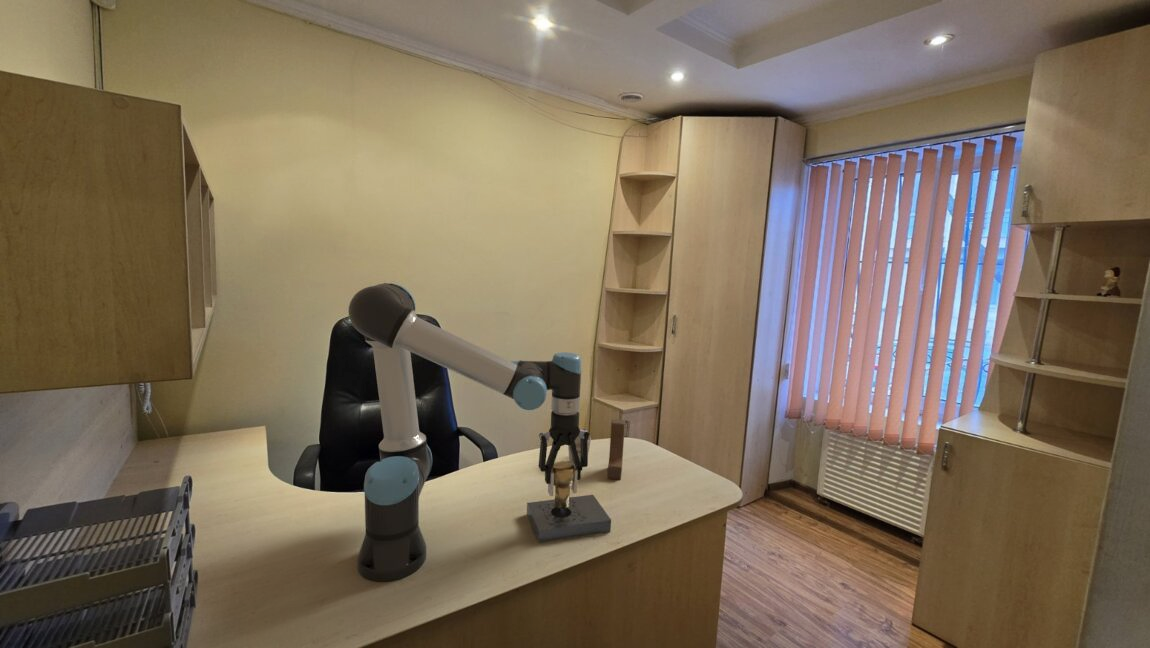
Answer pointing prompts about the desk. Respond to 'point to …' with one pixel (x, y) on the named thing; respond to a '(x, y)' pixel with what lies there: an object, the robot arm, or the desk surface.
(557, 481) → the knob
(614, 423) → the wooden block
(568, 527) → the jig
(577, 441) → the mug
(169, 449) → the desk surface
